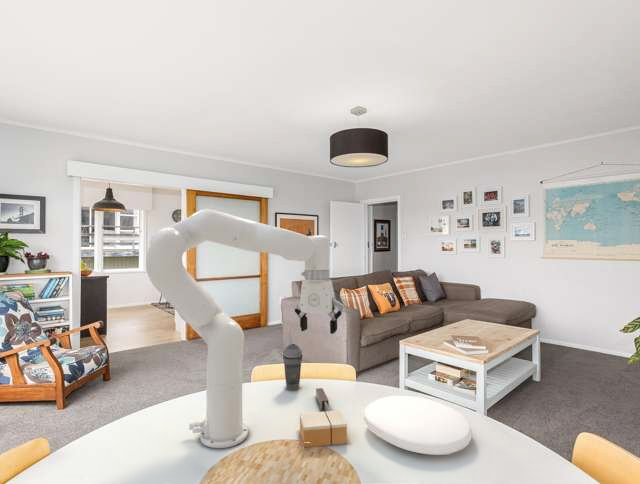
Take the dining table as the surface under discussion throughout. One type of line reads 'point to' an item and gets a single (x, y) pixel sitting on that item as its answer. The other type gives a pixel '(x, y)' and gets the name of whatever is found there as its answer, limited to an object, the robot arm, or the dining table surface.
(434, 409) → the white round disc
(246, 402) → the dining table surface
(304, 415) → the cake
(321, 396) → the knife
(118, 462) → the dining table surface
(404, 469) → the dining table surface
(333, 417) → the cake slice
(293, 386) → the beverage cup
